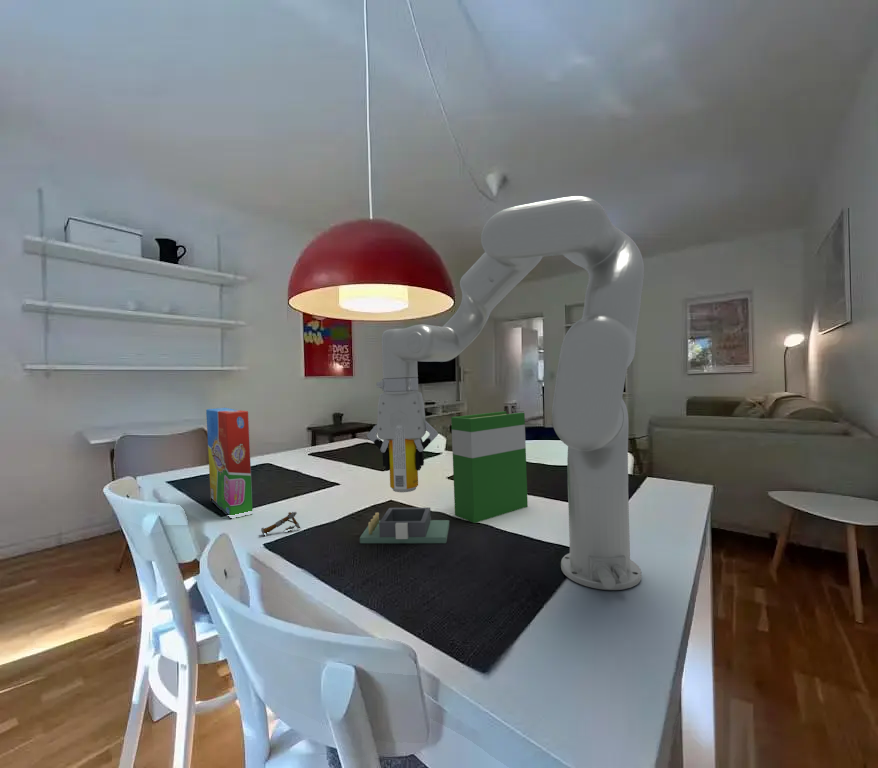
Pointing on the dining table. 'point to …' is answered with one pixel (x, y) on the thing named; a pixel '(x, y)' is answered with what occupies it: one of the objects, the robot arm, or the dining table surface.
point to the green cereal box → (489, 465)
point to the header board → (406, 527)
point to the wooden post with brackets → (282, 521)
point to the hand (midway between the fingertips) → (403, 468)
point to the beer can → (402, 462)
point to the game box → (229, 459)
